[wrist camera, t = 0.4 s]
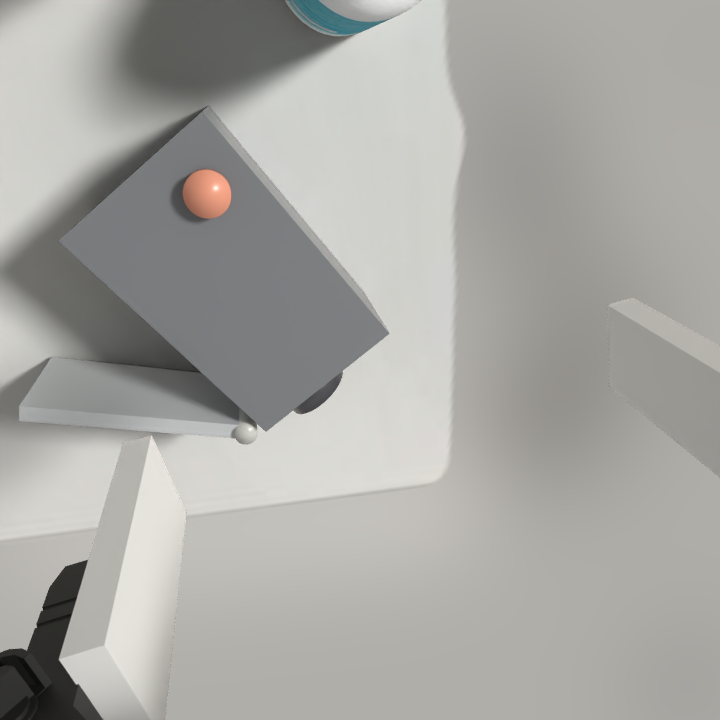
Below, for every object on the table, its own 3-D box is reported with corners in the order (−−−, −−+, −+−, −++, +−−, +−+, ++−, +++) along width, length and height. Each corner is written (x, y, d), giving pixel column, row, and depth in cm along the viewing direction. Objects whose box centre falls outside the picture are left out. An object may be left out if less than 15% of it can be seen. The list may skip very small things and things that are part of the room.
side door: (51, 377, 42) (17, 432, 35) (52, 353, 41) (17, 405, 34) (251, 396, 45) (254, 450, 39) (255, 375, 45) (258, 426, 38)
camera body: (89, 212, 38) (52, 246, 30) (208, 105, 37) (201, 112, 29) (273, 390, 46) (281, 455, 38) (376, 307, 44) (407, 356, 37)
